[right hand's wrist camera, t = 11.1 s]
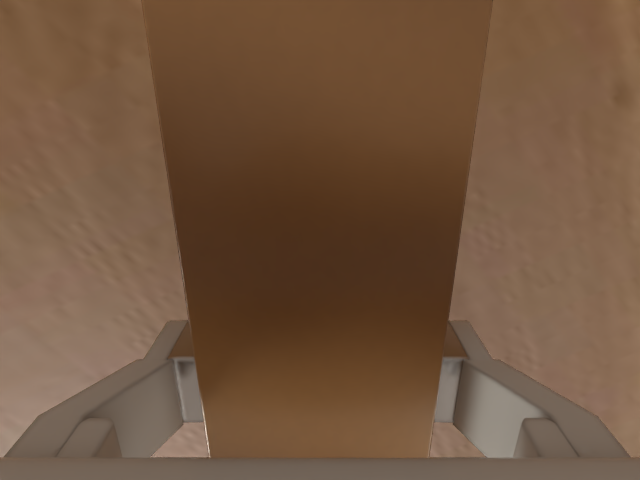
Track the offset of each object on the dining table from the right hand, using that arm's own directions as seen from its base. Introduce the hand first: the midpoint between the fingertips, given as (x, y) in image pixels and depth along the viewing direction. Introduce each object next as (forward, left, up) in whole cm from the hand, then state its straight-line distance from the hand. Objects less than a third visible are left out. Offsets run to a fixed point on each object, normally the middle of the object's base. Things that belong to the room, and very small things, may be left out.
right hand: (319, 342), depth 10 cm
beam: (+18, -21, -3) cm, 28 cm away
